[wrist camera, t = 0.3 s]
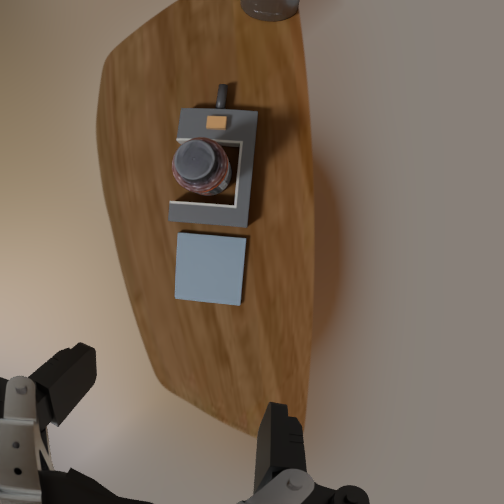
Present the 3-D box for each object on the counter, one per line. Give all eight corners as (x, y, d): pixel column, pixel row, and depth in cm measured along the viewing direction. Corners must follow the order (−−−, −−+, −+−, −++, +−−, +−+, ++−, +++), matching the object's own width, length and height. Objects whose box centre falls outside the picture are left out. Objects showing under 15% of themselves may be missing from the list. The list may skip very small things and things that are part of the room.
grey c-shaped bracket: (189, 88, 36) (184, 79, 33) (260, 91, 36) (260, 82, 33) (172, 220, 38) (166, 221, 35) (247, 226, 38) (246, 227, 35)
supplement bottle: (182, 190, 38) (155, 182, 26) (194, 148, 37) (173, 124, 26) (225, 201, 38) (214, 196, 27) (238, 158, 37) (232, 136, 26)
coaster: (179, 232, 38) (178, 232, 38) (246, 238, 38) (246, 238, 38) (175, 297, 39) (174, 298, 39) (240, 304, 40) (240, 305, 39)
